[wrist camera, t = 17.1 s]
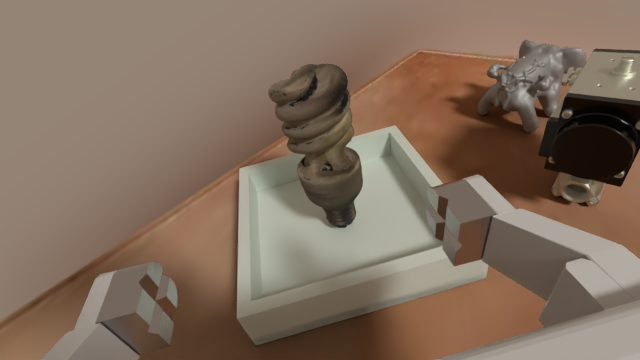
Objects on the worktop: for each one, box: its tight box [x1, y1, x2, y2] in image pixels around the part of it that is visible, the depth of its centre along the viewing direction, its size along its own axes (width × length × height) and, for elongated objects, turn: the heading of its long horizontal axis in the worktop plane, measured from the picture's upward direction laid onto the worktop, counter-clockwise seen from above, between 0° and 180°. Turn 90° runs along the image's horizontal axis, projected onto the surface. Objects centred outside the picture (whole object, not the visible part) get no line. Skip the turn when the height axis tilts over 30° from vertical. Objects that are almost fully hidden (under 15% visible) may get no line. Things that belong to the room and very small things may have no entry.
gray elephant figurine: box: [478, 40, 586, 132], centre depth 39 cm, size 9×12×8 cm
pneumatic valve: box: [539, 49, 640, 206], centre depth 26 cm, size 6×12×12 cm, turn 138°
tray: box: [237, 126, 488, 346], centre depth 30 cm, size 18×18×4 cm
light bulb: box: [268, 64, 363, 228], centre depth 26 cm, size 6×6×15 cm
